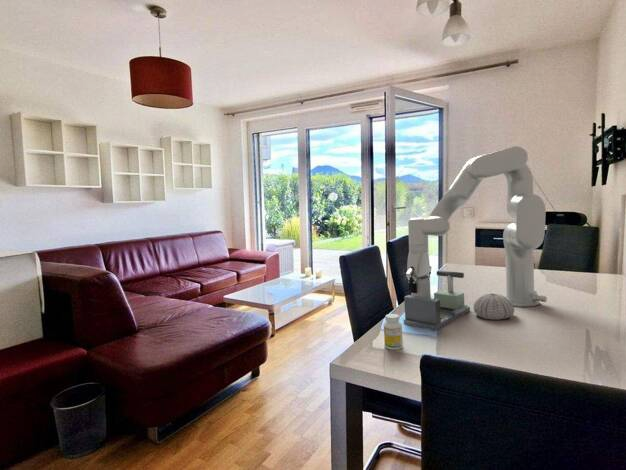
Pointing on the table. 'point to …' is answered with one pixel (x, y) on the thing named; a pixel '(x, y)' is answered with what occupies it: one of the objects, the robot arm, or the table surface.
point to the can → (422, 287)
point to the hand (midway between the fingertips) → (419, 290)
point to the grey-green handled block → (450, 292)
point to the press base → (443, 321)
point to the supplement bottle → (393, 332)
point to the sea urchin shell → (493, 307)
